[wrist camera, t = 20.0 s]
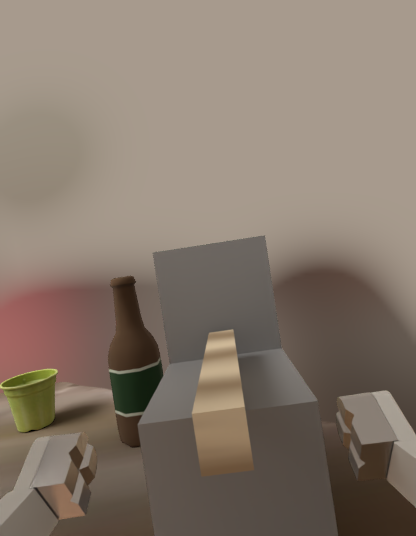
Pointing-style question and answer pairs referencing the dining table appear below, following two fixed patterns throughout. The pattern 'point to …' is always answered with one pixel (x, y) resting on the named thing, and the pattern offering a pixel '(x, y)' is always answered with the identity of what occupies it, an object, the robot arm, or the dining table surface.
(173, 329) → the stand
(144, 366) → the beer bottle
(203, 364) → the stick
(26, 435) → the dining table surface
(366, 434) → the robot arm
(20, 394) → the plant pot
